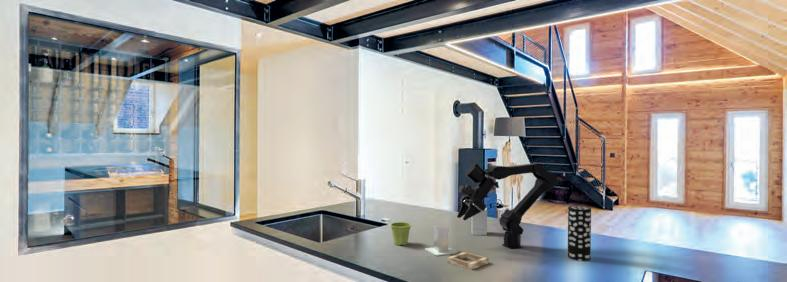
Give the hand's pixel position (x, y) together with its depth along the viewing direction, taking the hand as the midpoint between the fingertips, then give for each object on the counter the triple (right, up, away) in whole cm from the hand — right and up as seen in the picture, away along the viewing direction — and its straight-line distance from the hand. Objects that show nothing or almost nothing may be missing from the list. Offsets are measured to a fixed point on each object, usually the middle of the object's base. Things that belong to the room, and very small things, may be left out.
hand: (460, 218), depth 169 cm
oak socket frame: (0, -13, -18) cm, 22 cm away
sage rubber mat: (-9, -13, -3) cm, 16 cm away
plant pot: (-25, -13, +9) cm, 30 cm away
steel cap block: (-9, -13, -3) cm, 16 cm away
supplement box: (+14, -13, +28) cm, 34 cm away
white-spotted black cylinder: (+45, -14, -10) cm, 49 cm away
